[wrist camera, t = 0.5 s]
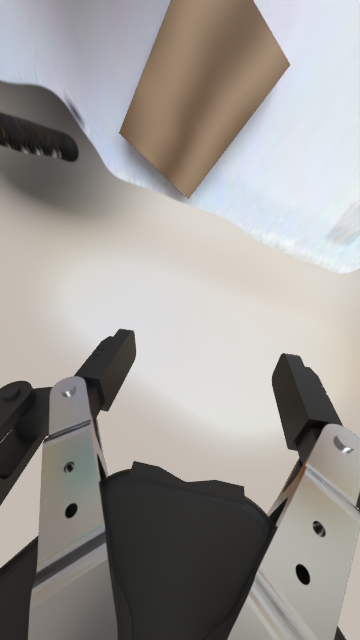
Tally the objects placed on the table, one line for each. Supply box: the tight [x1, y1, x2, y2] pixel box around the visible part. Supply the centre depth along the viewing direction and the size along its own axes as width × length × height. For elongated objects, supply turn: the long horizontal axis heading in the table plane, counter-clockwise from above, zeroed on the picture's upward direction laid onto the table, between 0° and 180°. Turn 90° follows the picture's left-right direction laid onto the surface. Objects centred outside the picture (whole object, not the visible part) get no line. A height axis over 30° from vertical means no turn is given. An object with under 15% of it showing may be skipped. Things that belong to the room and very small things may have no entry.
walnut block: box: [119, 0, 290, 199], centre depth 23 cm, size 11×15×5 cm
